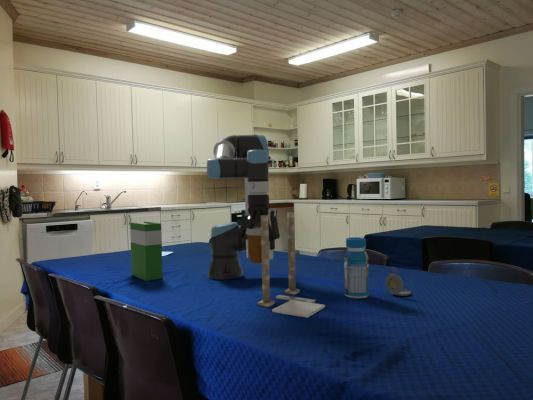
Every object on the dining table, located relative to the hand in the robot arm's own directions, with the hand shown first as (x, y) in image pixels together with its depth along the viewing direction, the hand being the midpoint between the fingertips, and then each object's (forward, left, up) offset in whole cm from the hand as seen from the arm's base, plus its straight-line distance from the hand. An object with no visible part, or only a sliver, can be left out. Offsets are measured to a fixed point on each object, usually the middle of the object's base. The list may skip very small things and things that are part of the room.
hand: (259, 258), depth 146 cm
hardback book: (-64, +5, -13) cm, 65 cm away
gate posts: (+8, 0, -13) cm, 16 cm away
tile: (+20, -9, -13) cm, 26 cm away
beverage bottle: (+30, +15, -13) cm, 36 cm away
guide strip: (+14, 0, -13) cm, 19 cm away
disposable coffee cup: (0, 0, -2) cm, 2 cm away
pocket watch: (+42, +23, -13) cm, 50 cm away
